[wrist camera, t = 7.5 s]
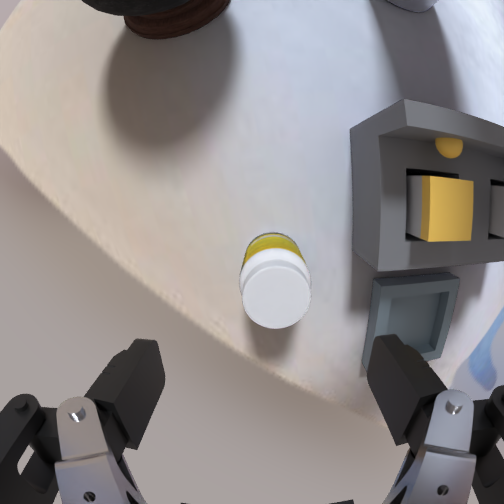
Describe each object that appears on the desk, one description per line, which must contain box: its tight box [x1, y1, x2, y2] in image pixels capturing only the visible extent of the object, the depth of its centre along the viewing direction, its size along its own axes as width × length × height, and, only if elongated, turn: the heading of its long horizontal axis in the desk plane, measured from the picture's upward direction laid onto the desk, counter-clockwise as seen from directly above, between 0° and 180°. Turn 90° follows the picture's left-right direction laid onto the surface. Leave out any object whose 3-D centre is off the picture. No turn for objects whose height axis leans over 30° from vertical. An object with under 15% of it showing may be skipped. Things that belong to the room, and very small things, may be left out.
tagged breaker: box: [405, 176, 473, 242], centre depth 18 cm, size 4×4×8 cm
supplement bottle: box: [239, 232, 311, 329], centre depth 20 cm, size 5×5×8 cm
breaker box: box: [350, 99, 504, 272], centre depth 17 cm, size 18×10×10 cm, turn 93°
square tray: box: [362, 272, 460, 371], centre depth 24 cm, size 9×9×2 cm
